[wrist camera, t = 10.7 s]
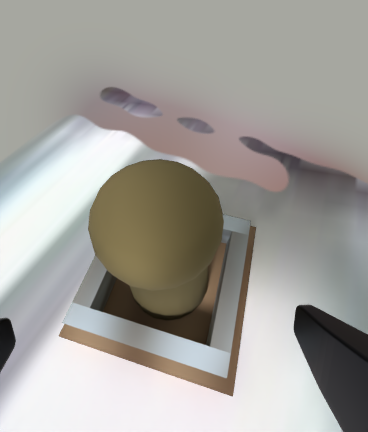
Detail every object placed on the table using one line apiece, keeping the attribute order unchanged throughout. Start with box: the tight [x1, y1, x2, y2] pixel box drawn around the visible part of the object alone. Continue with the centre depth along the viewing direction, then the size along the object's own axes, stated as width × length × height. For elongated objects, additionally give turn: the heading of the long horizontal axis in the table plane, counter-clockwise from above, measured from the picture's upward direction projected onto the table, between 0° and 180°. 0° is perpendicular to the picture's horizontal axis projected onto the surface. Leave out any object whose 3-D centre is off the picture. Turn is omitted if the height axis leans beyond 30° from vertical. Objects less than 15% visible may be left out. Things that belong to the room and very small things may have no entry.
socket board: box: [59, 214, 256, 396], centre depth 17 cm, size 12×12×4 cm
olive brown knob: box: [88, 159, 224, 320], centre depth 12 cm, size 6×6×11 cm
